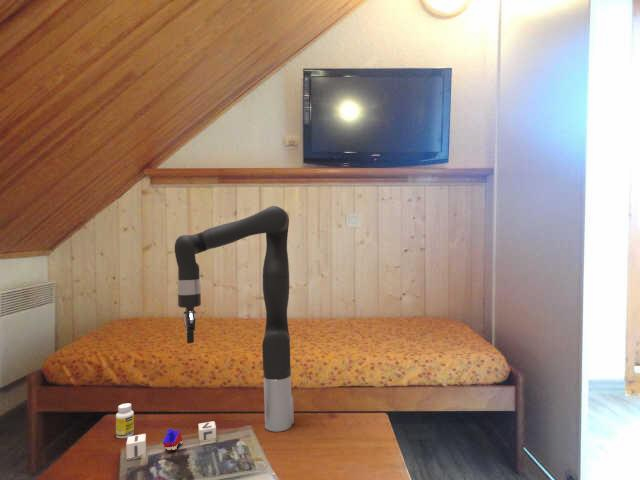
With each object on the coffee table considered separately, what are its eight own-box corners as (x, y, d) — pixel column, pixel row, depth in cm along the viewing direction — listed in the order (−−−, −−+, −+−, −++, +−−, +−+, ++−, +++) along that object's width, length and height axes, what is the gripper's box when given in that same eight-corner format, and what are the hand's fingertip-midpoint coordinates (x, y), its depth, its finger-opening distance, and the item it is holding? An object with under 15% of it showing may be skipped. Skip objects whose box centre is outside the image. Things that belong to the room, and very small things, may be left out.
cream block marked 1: (146, 449, 123) (145, 433, 123) (145, 458, 119) (145, 440, 119) (128, 453, 122) (127, 436, 122) (126, 461, 117) (126, 444, 117)
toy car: (166, 453, 124) (160, 436, 120) (172, 441, 127) (166, 424, 124) (177, 454, 123) (172, 436, 120) (183, 441, 127) (177, 424, 123)
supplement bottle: (126, 439, 130) (126, 409, 130) (112, 438, 131) (111, 408, 131) (137, 431, 135) (137, 402, 136) (123, 430, 137) (122, 401, 137)
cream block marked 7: (214, 436, 131) (214, 420, 131) (216, 443, 126) (215, 427, 126) (198, 439, 129) (198, 423, 129) (199, 446, 124) (199, 430, 125)
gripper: (202, 293, 134) (203, 345, 134) (198, 290, 146) (199, 337, 146) (179, 295, 131) (180, 348, 131) (176, 291, 143) (177, 339, 143)
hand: (190, 342), depth 139 cm, fingers closed
